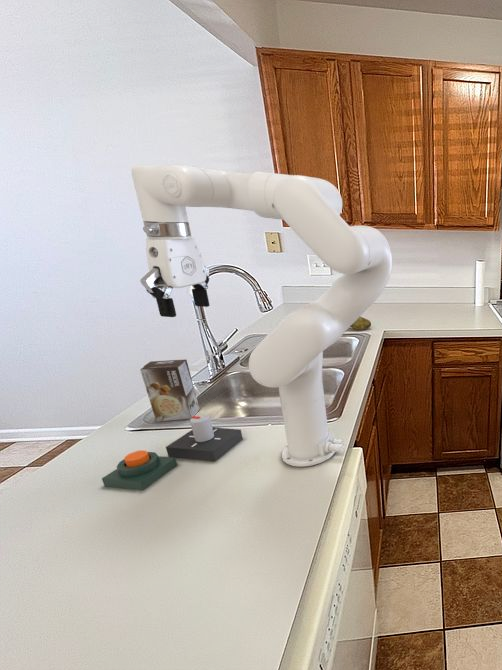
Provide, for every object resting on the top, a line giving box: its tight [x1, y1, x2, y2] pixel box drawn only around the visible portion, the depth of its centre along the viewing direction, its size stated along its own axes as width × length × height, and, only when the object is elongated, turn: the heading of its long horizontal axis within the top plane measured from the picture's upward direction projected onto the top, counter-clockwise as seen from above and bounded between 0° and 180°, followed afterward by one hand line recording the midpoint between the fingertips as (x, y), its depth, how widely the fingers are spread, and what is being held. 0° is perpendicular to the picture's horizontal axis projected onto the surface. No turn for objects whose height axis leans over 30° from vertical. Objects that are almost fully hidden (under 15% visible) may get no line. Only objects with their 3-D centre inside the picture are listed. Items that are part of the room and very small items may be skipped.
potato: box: [349, 316, 372, 331], centre depth 198 cm, size 8×13×8 cm, turn 81°
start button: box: [123, 449, 150, 467], centre depth 87 cm, size 4×4×2 cm
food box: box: [139, 358, 200, 423], centre depth 111 cm, size 9×6×16 cm
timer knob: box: [189, 414, 214, 442], centre depth 97 cm, size 4×4×6 cm
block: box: [101, 451, 178, 491], centre depth 88 cm, size 9×9×4 cm
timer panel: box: [165, 426, 243, 463], centre depth 99 cm, size 12×10×3 cm
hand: (186, 311), depth 89 cm, fingers open, 9 cm apart
